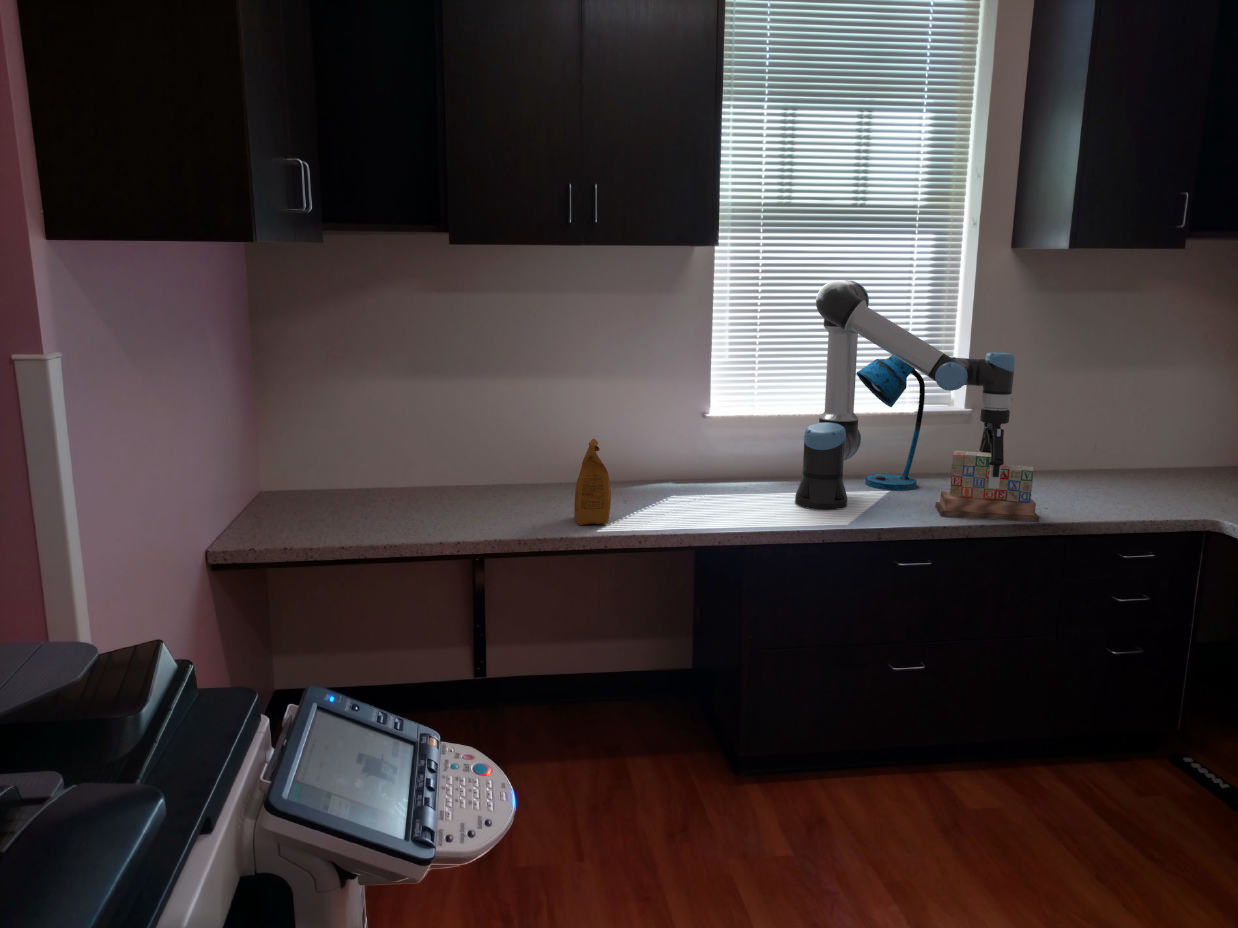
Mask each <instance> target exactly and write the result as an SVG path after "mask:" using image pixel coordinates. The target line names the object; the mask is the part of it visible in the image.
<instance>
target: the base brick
mask: <svg viewBox="0 0 1238 928" xmlns="http://www.w3.org/2000/svg"><path fill="white" fill-rule="evenodd" d="M939 496H940V498H939V501H935V506H934V507H935V508H936V511H937V512H938V514H939V515H940V517H945V518H960V519H962V518H966V519H983V520H999V521H1000V520H1002V521H1017V522H1019V521H1020V522H1037V523H1039V521H1040V515H1039V514H1037V512H1036V508H1037V507H1036V506H1037V503H1036V502H1035V501H1034V499H1032V498H1031V500H1030V503H1025V502H1015V501H1004V500H994V499H981V498H970V497H961V496H950V491H942V490H941V491H940V495H939Z"/></svg>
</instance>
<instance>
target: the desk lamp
mask: <svg viewBox="0 0 1238 928" xmlns="http://www.w3.org/2000/svg"><path fill="white" fill-rule="evenodd" d="M910 374H912V376H913V377H915V379H916V380H917V381H918V386H919V394H918V395H919V396H918V397H919V399H918V407H917V414H916V420H915V428H914V431H913V435H912V440H911V443H910V447H909V448H910V449H909V452H908V456H907V459H906V463H905V467H904V471H903V473H902V475H900V474H891V473H890V474H889V473H877V474H875V473H874V474H869V475H866V477H865V481H864V484H865V485H866V486H868V487H871V488H874V489H879V490H886V491H909V490H913V489H916V488H917V482H918V481H917V480H916V479H915V478H913V477H910V476H909V474H910V470H911V467H912V464H913V460H914V455H915V453H916V450H917V446H918V445H917V444H918V440H919V436H920V431H921V425H922V420H923V414H924V409H925V399H926V385H925V381H924V378H923V376H922V375H921V374H920V373H919V371H918V370H916V369H915V368H913V367H912V366H910V365H908V364H907V363H905V362H903V361H902V360H900V359H898V358H897V357H895V356H894V355H892V354H891V355H890V356H889V357H887V358H876V359H874V360H873V361H871V362H870V363H868V364H867V365H865V366H864V367H863V368H861V369H860V370H858V371H856V375H857V377H858V379H859V380H860V381H861V382H862V384H863V385H864V386H865V387H866V388H867V389H868V390H869V392H870V393H872V394H873V395H874V396H875V397H876V398H877V399H878V400H879V401H880V402H882V403H883V404H884V405H886V406H887V407H889V408H893V406H894V405H895V404H896V403H897V402H898V399H900V397H901V396H902V394H904V392H905V391H906V390H907V386H908V385H907V384H908V383H907V381H908V380H907V379H908V377H909V375H910Z"/></svg>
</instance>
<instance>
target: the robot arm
mask: <svg viewBox="0 0 1238 928" xmlns="http://www.w3.org/2000/svg"><path fill="white" fill-rule="evenodd" d="M815 304H816V306H815V307H816V310H817V311H818V313H819V315H820V316H821V317H822V318H823V328H824V329H825V330H826V331H827V333H828V337H827V356H826V373H825V374H826V376H825V379H826V380H825V397H824V398H825V399H824V411H823V413H821V414H820V415H819V418H818V419H819V420H818V423H813V424H810V425H808V426H807V427H806V428H805V430H804V436H803V454H802V455H803V458H802V460H803V461H802V477H801V480H800V482H799V484H798V487H797V491H796V493H795V495H794V496H795V497H794V498H795V499H794V503H795V504H796V505H798V506H799V507H802V508H806V509H813V510H820V511H824V510H825V511H827V510H828V511H831V510H842V509H845V508H847V507H848V494H847V491H846V486H845V484H844V465H845V461H847V460H849V459H850V458H852V457H853V456H855V455H856V453H857V452H858V451H859V449H860V446H861V441H862V435H861V432H860V429H859V417H858V416H857V415H856V414H855V412H854V411H855V395H856V394H855V393H856V392H855V391H856V375H857V357H858V341H859V340H858V337H859V336H861V337H862V338H864V339H866V340H868V341H869V342H870V343H873V344H874V345H875V346H877V347H879V348H881V349H882V350H884V351H886V352H887V353H888V354H890V355H891V356H892V355H894V356H895V357H897V358H898V359H900V360H902V361H903V362H905V363H907V364H908V365H910V366H912V367H913V368H915V370H916V371H917V372H920V373H921V374H923V375H925V376H926V377H928V378H930V379H931V380H932V381H934V382H936V384H937V385H938V387H939V388H940V389H942V390H943V391H948V392H950V391H956V390H960V389H961V388H963V387H964V386H976V387H982V395H981V404H980V405H981V407H982V408H980V417H979V418H980V419H979V420H980V422H982V423H984V424H983V431H982V436H981V440H980V446H979V452H984V453H991V461H992V462H989V465H990V474H989V484H988V488H999V484H1000V474H1001V465H1003V464H1004V465H1005V461H1004V460H1005V459H1004V456H1005V455H1004V452H1005V451H1004V435H1005V434H1004V433H1005V430H1004V428H1003V429H1002V426H1001V425H1006V424H1008V423H1009V422H1010V416H1011V415H1010V414H1011V411H1010V408H1011V403H1012V402H1011V401H1013V400H1014V397H1013V396H1012V394H1013V393H1012V392H1013V385H1014V384H1013V383H1014V375H1015V359H1016V358H1015V355H1014V354H1013V353H1009V352H1002V351H1001V352H999V351H998V352H997V351H996V352H995V351H991V352H987V353H986V354H985V358H980V359H979V358H967V357H966V358H964V357H957V356H950V355H948V354H946V353H944V352H943V351H941V350H940V349H937V348H936V347H934V345H931V344H929V343H928V342H926V341H925V340H923V339H921V338H919V337H918V336H916V335H915V334H913V333H911V332H909V330H907V329H905V328H903V327H902V326H900V325H898V324H896V323H895V322H893V321H892V320H889V319H888V318H887V317H886V316H883V315H881V314H880V313H879V312H876V311H875V310H873V309H872V308H870V307H869V304H870V296H869V294H868V291H867V290H866V289H865V287H864V286H863V285H862V284H860V283H858V282H856V281H854V280H848V279H845V280H833V281H829V282H827V283H826V284H824V285H823V286H822V287H821V288H820V289H819V291H818V293H817V295H816V298H815Z"/></svg>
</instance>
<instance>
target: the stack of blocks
mask: <svg viewBox="0 0 1238 928" xmlns="http://www.w3.org/2000/svg"><path fill="white" fill-rule="evenodd" d="M989 462H992V461H991V453H984V452H981V451H966V450H965V451H964V450H954V451H953V453H952V463H951V476H950V487H949V492H950V496H961V497H970V498H981V499H994V500H1004V501H1015V502H1025V503H1030V500H1031V499H1032V492H1033V491H1032V490H1033V479H1034V466H1025V465H1017V464H1016V465H1014V464H1005V463H1004V464H1003V465H1001V474H1000V484H999V488H988V484H989V474H990V465H989Z"/></svg>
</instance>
